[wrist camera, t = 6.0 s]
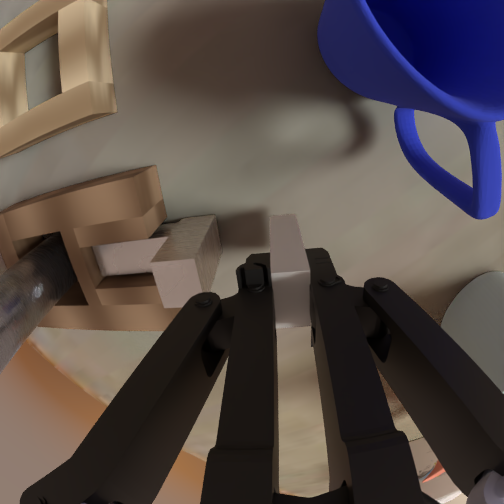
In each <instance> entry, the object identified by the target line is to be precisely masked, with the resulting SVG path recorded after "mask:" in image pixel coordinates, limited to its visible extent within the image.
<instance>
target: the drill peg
mask: <svg viewBox="0 0 504 504" xmlns="http://www.w3.org/2000/svg"><path fill="white" fill-rule="evenodd" d="M77 280H78V279H77V276H76V274H75V271H74V269H73V266H72V263H71V261H70V258H69V255H68V253H67V250H66V247H65V244H64V241H63V238H62V235H61V232H60V231H58V232H55V233H54V234H52V235H51V236H50V237H48V238H47V239H46V240H44V241H43V242H42V243H40V244H39V245H38V246H36V247H35V248H34V249H32V250H31V251H30V252H29V253H27V254H26V255H25V256H23V257H22V258H21V259H20V260H18V261H17V262H16V263H15V264H14V265H12V266H11V267H10V268H9V269H8V270H6V271H5V272H4V273H3V274H2V275H0V374H1V372H2V371H3V369H4V368H5V367H6V365H7V364H8V363H9V361H10V360H11V359H12V357H13V356H14V355H15V353H16V352H17V351H18V349H19V348H20V347H21V345H22V344H23V343H24V341H25V340H26V339H27V338H28V337H29V335H30V334H31V333H32V332H33V330H34V329H35V328H36V327H37V325H38V324H39V323H40V322H41V321H42V319H43V318H44V317H45V316H46V315H47V314H48V312H49V311H50V310H51V309H52V308H53V307H54V305H55V304H56V303H57V302H58V301H59V300H60V299H61V298H62V296H63V295H64V294H65V293H66V292H67V291H68V290H69V289H70V288H71V287H72V285H73V284H74V283H75V282H76V281H77Z"/></svg>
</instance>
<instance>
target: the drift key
mask: <svg viewBox="0 0 504 504" xmlns="http://www.w3.org/2000/svg"><path fill="white" fill-rule="evenodd" d="M92 248H93V251H94V254H95V257H96V260H97V263H98V265H99V268H100V271H101V273H102V276H109V275H122V274H135V273H148V272H153V275H154V278H155V282H156V285H157V288H158V291H159V294H160V297H161V300H162V303H163V306H164V308H180V307H183V306H184V305H185V303H186V302H187V301H188V300H189V299H190V298H191V297H192V296H194V295H196V294H198V293H202V292H210V291H211V287H212V284H213V281H214V277H215V274H216V271H217V267H218V264H219V261H220V258H221V254H222V248H221V242H220V237H219V231H218V226H217V220H216V215H215V214H214V215H206V216H198V217H190V218H182V219H181V221H180V222H175V223H167V224H161V225H160V226H159V227H158V228H157V229H156V230H155V232H154V233H153V234H152V235H151V236H150V237H149V238H148V239H142V240H134V241H127V242H119V243H111V244H104V245H97V246H92Z"/></svg>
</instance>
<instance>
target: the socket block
mask: <svg viewBox="0 0 504 504" xmlns="http://www.w3.org/2000/svg"><path fill="white" fill-rule="evenodd" d="M166 218H167V214H166V210H165V205H164V201H163V196H162V191H161V187H160V182H159V177H158V172H157V167H156V165H154V166H149V167H144V168H139V169H135V170H130V171H126V172H122V173H118V174H113V175H109V176H105V177H101V178H98V179H94V180H90V181H86V182H83V183H79V184H75V185H72V186H69V187H65V188H62V189H58V190H55V191H52V192H49V193H46V194H42V195H39V196H36V197H33V198H30V199H27V200H24V201H22V202H19V203H16V204H14V205H12V206H10V207H9V208H7V209H5V210H3V211H1V212H0V252H1V255H2V257H3V260H4V262H5V265H6V267H7V270H8V269H9V268H10V267H11V266H12V265H14V264H15V263H16V262H17V261H18V260H20V259H21V258H22V257H23V256H25V255H26V254H27V253H29V252H30V251H31V250H32V249H34V248H35V247H36V246H38V245H39V244H40V243H42V242H43V241H44V239H43V236H42V235H43V234H48V233H53V232H58V231H60V232H61V235H62V238H63V241H64V244H65V247H66V250H67V253H68V255H69V258H70V261H71V263H72V266H73V269H74V271H75V274H76V276H77V279H78V281H79V282H75V283H74V284H73V285H72V287H71V288H70V289H69V290H68V291H67V292H66V293H65V294H64V295H63V296H62V298H61V299H60V300H59V301H58V302H57V303H56V304H55V305H54V307H53V308H52V309H51V310H50V311H49V312H48V314H47V315H46V316H45V317H44V318H43V319H42V321H41V322H40V323H39V324H38V325H37V326H38V327H51V328H66V329H85V330H113V331H165V329H166V328H167V327H168V326H169V324H170V323H171V322H172V320H173V319H174V318H175V316H176V315H177V314H178V312H179V311H180V310H181V309H182V307H180V308H164V306H163V303H162V300H161V297H160V294H159V291H158V288H157V285H156V282H155V278H154V275H153V272H148V273H135V274H122V275H109V276H102V273H101V271H100V268H99V265H98V263H97V260H96V257H95V254H94V251H93V248H92V246H97V245H104V244H111V243H119V242H127V241H134V240H142V239H148V238H149V237H150V236H151V235H152V234H153V233H154V232H155V230H156V229H157V228H158V227H159V226H160V225H161V224H162V222H163V221H164V220H165V219H166Z"/></svg>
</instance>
